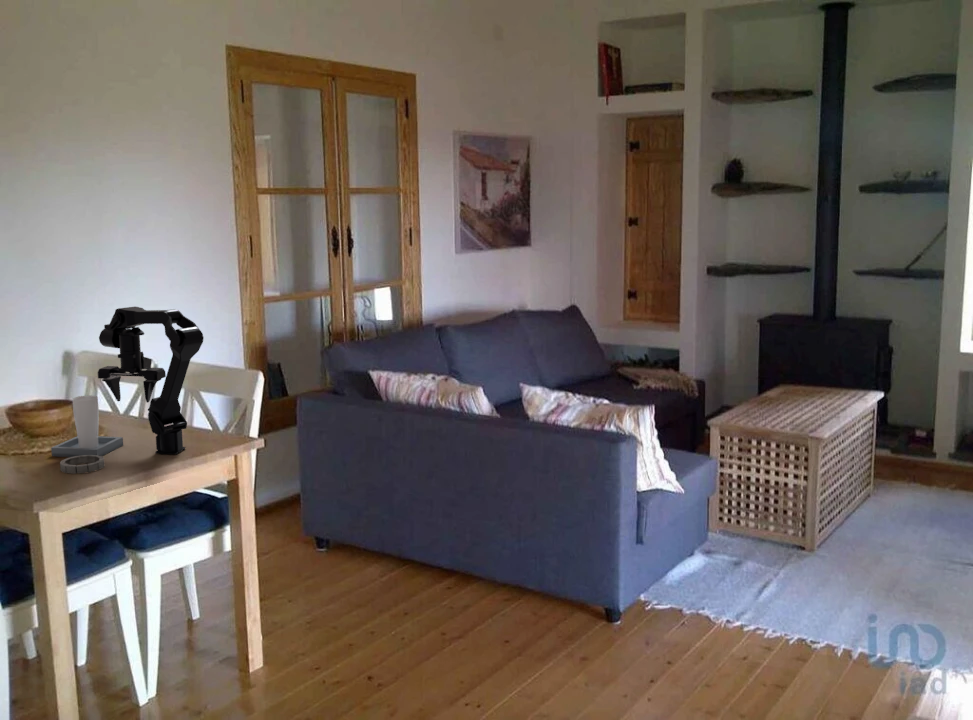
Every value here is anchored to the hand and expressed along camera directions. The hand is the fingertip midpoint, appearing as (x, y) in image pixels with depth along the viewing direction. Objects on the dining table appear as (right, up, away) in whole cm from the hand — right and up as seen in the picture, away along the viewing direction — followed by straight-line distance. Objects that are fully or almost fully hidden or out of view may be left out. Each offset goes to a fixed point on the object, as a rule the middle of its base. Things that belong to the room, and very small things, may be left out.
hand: (133, 401), depth 280 cm
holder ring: (-6, -17, -22) cm, 28 cm away
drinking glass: (-11, -13, -5) cm, 18 cm away
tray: (-11, -14, -5) cm, 19 cm away
